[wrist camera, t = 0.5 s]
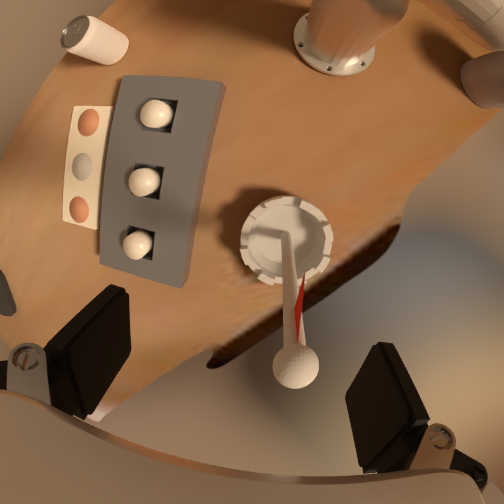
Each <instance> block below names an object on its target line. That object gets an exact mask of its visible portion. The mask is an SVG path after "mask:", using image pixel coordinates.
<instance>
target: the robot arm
mask: <svg viewBox="0 0 504 504" xmlns="http://www.w3.org/2000/svg"><path fill="white" fill-rule="evenodd" d="M417 1H419V2H420V3H422V4H424V5H425V6H427V7H428V8H430V9H431V10H433V11H434V12H436V13H437V14H439V15H440V16H441V17H443V18H444V19H445V20H447V21H448V22H450V23H451V24H452V25H453V26H455V27H456V28H457V29H459V30H460V31H461V32H462V33H464V34H465V35H466V36H468V37H469V38H470V39H471V40H473V41H474V42H476V43H477V44H479V45H480V46H482V47H484V48H486V49H489V50H493V51H504V0H417ZM408 3H409V0H312V2H311V7H310V11H309V12H308V13H306V14H305V15H303V16H302V17H301V18H300V19H299V21H298V22H297V24H296V26H295V29H294V44H295V47H296V49H297V52H298V53H299V55H300V56H301V58H302V59H303V60H304V61H305V62H306V63H307V64H308V65H310V66H311V67H313V68H314V69H316V70H318V71H320V72H321V73H324V74H327V75H331V76H336V77H347V76H353V75H356V74H359V73H360V72H362V71H364V70H365V69H366V68H367V67H368V66H369V65H370V64H371V62H372V60H373V58H374V55H375V45H376V44H377V43H378V42H379V41H380V40H381V39H382V38H383V37H384V36H385V35H386V34H387V33H388V32H389V31H390V30H391V29H392V28H393V27H394V26H395V25H396V24H397V23H398V22H399V21H400V20H401V19H402V18H403V17H404V15H405V14H406V11H407V9H408ZM299 46H302V47H299ZM361 64H362V65H363V66H361ZM327 69H330V71H328V70H327ZM130 352H131V336H130V312H129V294H128V293H126V291H125V289H124V288H122V287H119V286H115V285H112V284H110V285H109V286H108V287H106V288H105V289H104V290H103V291H102V292H101V293H100V294H99V295H97V296H96V297H95V298H94V299H93V300H92V301H91V302H90V303H89V304H88V305H86V306H85V307H84V308H83V309H82V310H81V311H80V312H79V313H78V314H77V315H76V316H75V317H74V318H72V319H71V320H70V321H69V322H68V323H67V324H66V325H65V326H64V327H63V328H62V329H61V330H60V331H59V332H58V333H57V334H56V335H55V336H54V337H53V338H52V339H51V340H50V341H49V342H48V343H47V345H46V346H45V347H44V348H42V347H40V346H39V345H37V344H34V343H23V344H20V345H18V346H16V347H15V348H13V349H12V350H11V352H10V354H9V357H8V360H6V361H0V504H504V494H503V493H502V492H501V491H500V490H499V489H498V488H497V487H496V486H495V485H494V484H493V483H492V482H491V481H488V482H487V478H488V476H487V471H486V469H485V467H484V466H483V465H482V464H481V463H479V462H477V461H476V460H474V459H472V458H470V457H469V456H467V455H465V454H463V453H462V452H460V451H458V450H457V449H455V446H456V438H455V435H454V433H453V432H452V431H451V430H450V429H449V428H448V427H447V426H445V425H443V424H439V423H435V424H432V425H430V426H428V424H427V422H428V421H429V420H430V418H429V415H428V413H427V411H426V409H425V407H424V405H423V402H422V400H421V398H420V396H419V394H418V392H417V390H416V387H415V385H414V383H413V381H412V379H411V377H410V375H409V373H408V371H407V369H406V368H405V365H404V364H403V362H402V360H401V358H400V356H399V354H398V352H397V350H396V348H395V346H394V345H393V344H392V343H385V342H378V343H377V344H376V345H373V346H372V348H371V350H370V352H369V354H368V356H367V357H366V359H365V361H364V363H363V365H362V366H361V368H360V370H359V372H358V374H357V375H356V377H355V379H354V381H353V382H352V384H351V386H350V387H349V389H348V390H347V392H346V396H345V400H346V405H347V409H348V414H349V419H350V423H351V428H352V432H353V438H354V442H355V448H356V453H357V458H358V463H359V466H360V467H362V468H363V474H365V473H376V472H377V474H368V475H355V476H354V475H353V476H327V477H326V476H322V477H319V476H288V475H276V474H265V473H256V472H249V471H242V470H236V469H230V468H224V467H218V466H214V465H209V464H204V463H200V462H196V461H192V460H187V459H184V458H180V457H176V456H173V455H169V454H166V453H163V452H159V451H156V450H153V449H150V448H147V447H144V446H141V445H138V444H136V443H133V442H130V441H128V440H125V439H123V438H120V437H117V436H115V435H112V434H110V433H108V432H106V431H103V430H101V429H98V428H96V427H94V426H92V425H90V424H87V423H85V422H83V421H81V420H79V419H77V418H75V417H73V415H75V416H77V417H79V418H81V419H83V420H85V418H86V416H87V415H88V414H89V415H91V414H92V413H93V412H94V410H95V409H96V407H97V406H98V404H99V402H100V401H101V399H102V397H103V396H104V394H105V393H106V391H107V389H108V388H109V386H110V385H111V383H112V382H113V380H114V378H115V377H116V375H117V374H118V372H119V371H120V369H121V368H122V366H123V364H124V363H125V361H126V360H127V358H128V357H129V355H130Z"/></svg>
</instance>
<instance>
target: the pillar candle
mask: <svg viewBox="0 0 504 504" xmlns="http://www.w3.org/2000/svg"><path fill="white" fill-rule="evenodd" d="M460 76H461V82H462V85H463V88H464V90H465V92H466V94H467V95H468V96H469V97H470V99H471V100H472V101H473V102H474V103H475V104H476V105H477V106H479V107H481V108H486V109H488V108H504V51H496V52H492V53H489V54H486V55H483V56H480V57H477V58H474V59H471V60H468V61H466V62H464V63H463V64H462V66H461V71H460Z"/></svg>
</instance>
